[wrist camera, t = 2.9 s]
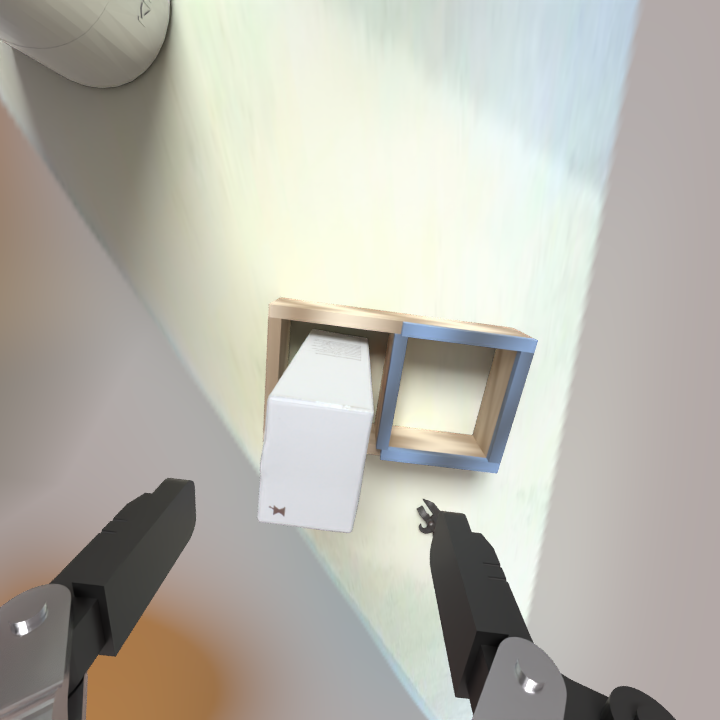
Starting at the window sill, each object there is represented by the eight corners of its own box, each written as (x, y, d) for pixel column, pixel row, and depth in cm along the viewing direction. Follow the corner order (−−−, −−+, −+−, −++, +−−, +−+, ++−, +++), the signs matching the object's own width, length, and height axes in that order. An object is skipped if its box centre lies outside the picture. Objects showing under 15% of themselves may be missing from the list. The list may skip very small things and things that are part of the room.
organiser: (273, 420, 26) (260, 445, 22) (280, 297, 23) (266, 305, 19) (480, 445, 26) (497, 473, 23) (513, 327, 23) (538, 340, 20)
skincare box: (357, 410, 25) (352, 539, 14) (302, 402, 25) (252, 525, 14) (370, 334, 24) (377, 412, 12) (311, 325, 23) (262, 395, 12)
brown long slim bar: (468, 564, 31) (472, 575, 30) (445, 573, 31) (448, 584, 30) (431, 491, 28) (434, 501, 27) (406, 501, 28) (408, 511, 27)
